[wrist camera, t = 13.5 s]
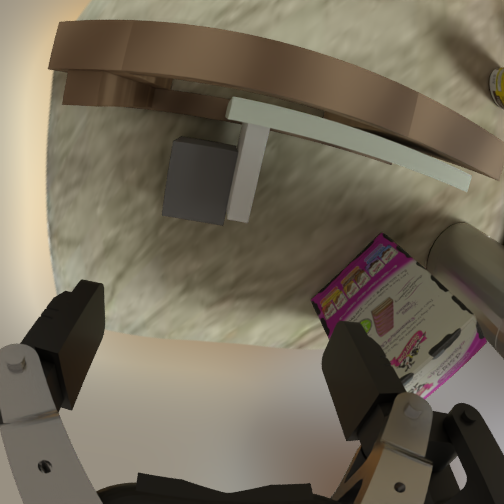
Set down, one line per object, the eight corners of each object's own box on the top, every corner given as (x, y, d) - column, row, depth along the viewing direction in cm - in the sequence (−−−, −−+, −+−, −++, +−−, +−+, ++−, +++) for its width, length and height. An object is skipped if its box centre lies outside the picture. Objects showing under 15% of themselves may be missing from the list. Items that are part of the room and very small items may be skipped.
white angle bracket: (391, 148, 28) (472, 175, 17) (368, 225, 31) (431, 283, 21) (227, 103, 26) (233, 96, 15) (209, 193, 29) (202, 246, 18)
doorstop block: (235, 145, 28) (238, 152, 24) (222, 207, 31) (223, 225, 26) (181, 136, 27) (173, 140, 23) (170, 199, 30) (161, 215, 25)
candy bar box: (335, 321, 37) (387, 430, 23) (308, 299, 36) (358, 415, 21) (404, 256, 35) (490, 343, 20) (382, 229, 33) (476, 314, 18)
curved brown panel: (399, 122, 28) (508, 145, 15) (388, 163, 30) (490, 209, 16) (134, 60, 24) (59, 22, 10) (124, 106, 25) (41, 108, 12)
